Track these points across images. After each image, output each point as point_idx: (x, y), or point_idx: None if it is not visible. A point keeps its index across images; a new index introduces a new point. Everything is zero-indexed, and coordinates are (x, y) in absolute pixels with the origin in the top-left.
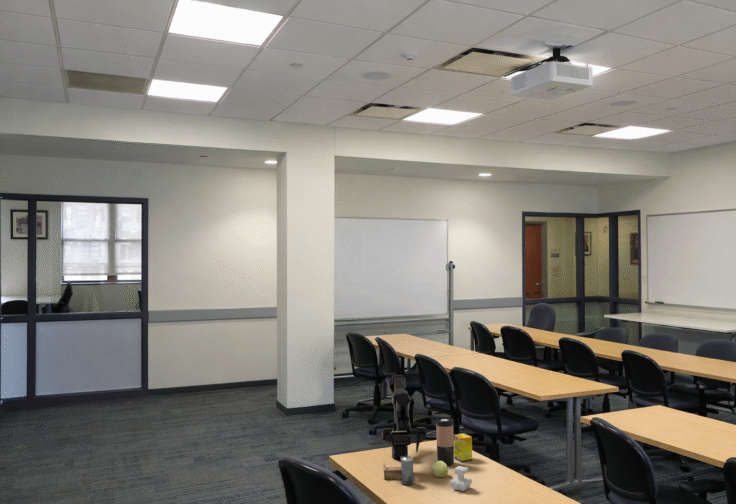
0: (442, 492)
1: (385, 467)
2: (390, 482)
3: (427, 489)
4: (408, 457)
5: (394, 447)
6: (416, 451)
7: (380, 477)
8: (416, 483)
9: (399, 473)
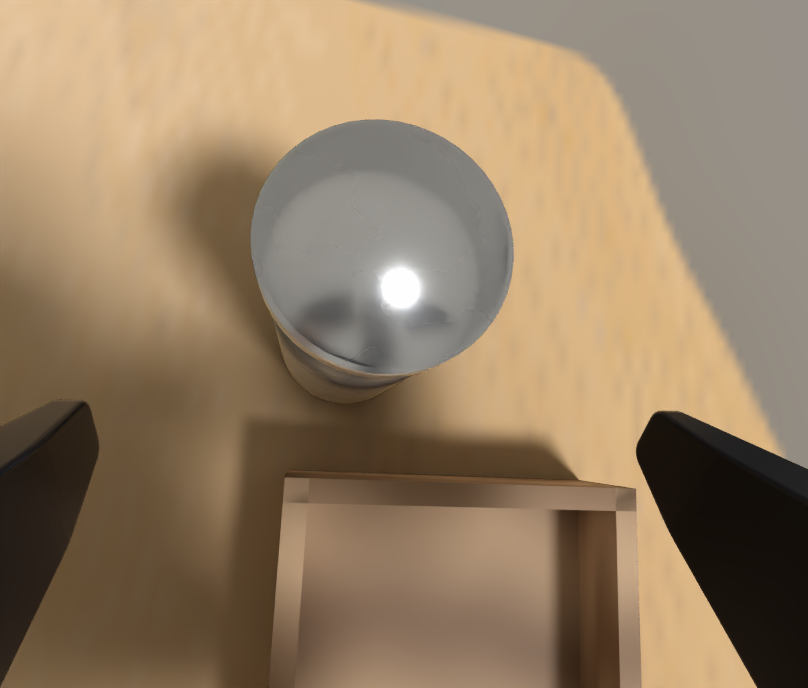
0: (8, 39)
1: (619, 612)
2: (520, 391)
3: (156, 144)
4: (352, 244)
5: (754, 459)
6: (90, 434)
7: None
8: (245, 325)
9: (432, 480)
